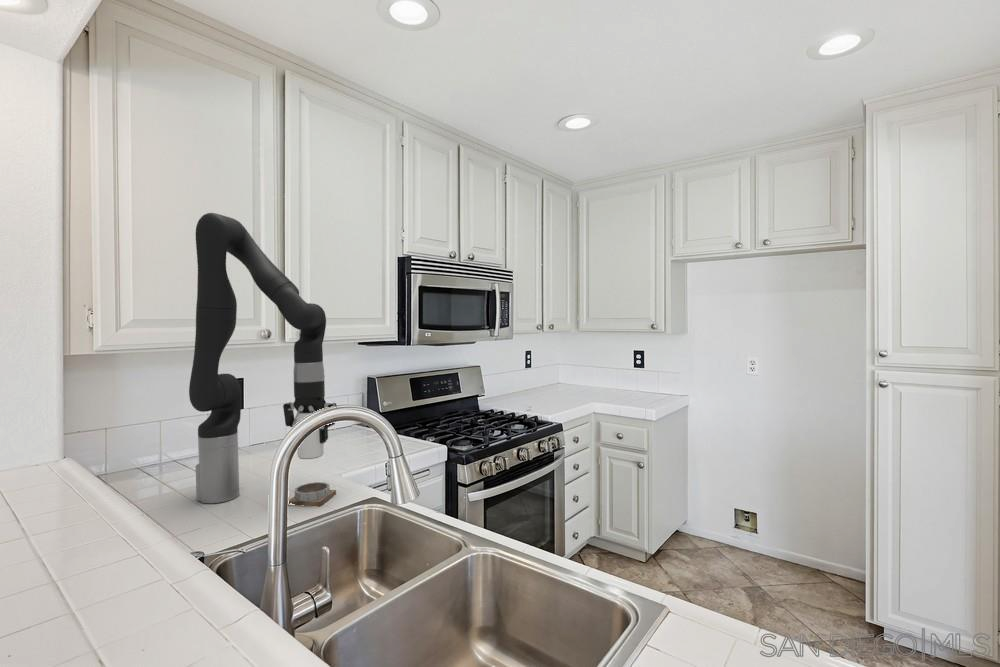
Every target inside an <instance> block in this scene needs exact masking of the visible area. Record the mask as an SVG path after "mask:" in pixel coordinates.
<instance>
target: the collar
mask: <svg viewBox="0 0 1000 667" xmlns="http://www.w3.org/2000/svg"><path fill="white" fill-rule="evenodd" d="M314 490H321V491H318V492H311V493H304V492H308V491H314ZM330 490H331V487H330V483H328V482H322V481H321V482H318V481H317V482H309V483H304V484H301V485H299V486H297V487H295V488H294V496H295V499H296V500H298V501H315V500H320V499H323V498H326V497H327V496H328V495H330Z"/></svg>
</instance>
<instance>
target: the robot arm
mask: <svg viewBox="0 0 1000 667" xmlns="http://www.w3.org/2000/svg"><path fill="white" fill-rule="evenodd" d="M195 247H196V249H195V250H196V258H197V259H196V261H197V262H196V263H197V284H196V285H197V291H196V292H197V295H196V305H195V306H196V307H195V308H196V309H195V337H194V338H195V341H194V351H193V352H194V353H193V360H192V361H193V362H192V369H191V371H190V372H191V374H190V378H189V386H188V387H189V388H188V396H189V401H190V404H191V406H192V407H193V409H195V410H196V411H197V412H202V413H203V412H204V413H205V412H210V411H211V412H210V414H209V416H208V417H207V418H206V420H204V421H202V423H200V424H199V425H198V428H197V443H198V444H197V445H198V463H196V465H195V488H196V489H195V490H196V491H195V492H196V494H195V495H196V497H195V498H196V501H197V502H198V501H199V502H201V503H202V504H218V503H224V502H228V501H231V500H234V499H236V498H237V497H239V496H240V472H239V471H240V470H239V469H240V466H239V438H238V434H239V432H238V427H239V424H240V421H241V413H242V412H241V411H242V407H241V406H242V389H241V385H240V382H239V380H238V378H237V377H236V376H235V375H232V374H231V373H219V365H220V359H221V356H222V354H223V352H224V349H225V348H226V346H227V344H228V343H229V341H230V340H231V338H232V336H233V334H234V332H235V330H236V326H237V311H238V310H237V309H238V308H237V307H238V303H237V302H238V301H237V298H236V294H235V292H234V289H233V287H232V283H231V282H230V278H229V277H228V272H227V253H228V254H229V255H231V256H233V257H234V258H236V259H237V260H238V261H239V262H241V264H243V265H244V266H245V268H246V269H247V271H248V272H249V274H250V276H251V277H252V279H253V282H254V283H255V285H256V286H257V287H258V289H259V290H260V291H261V292H262V293H263V294H264V295H265V296H266V297H267V298H268V299H269V300H270V301H272V303H273V304H274V305H275V306H276V307H277V309H278V310H279V312H280V314H281V315H282V317H283V318H284V319H285V321H286V322H287V323H288V324H289V325H290V326H292V327H293V328H294V329H296V330H299V331H300V332H299V333H300V334H299V338H298V340H297V341H295V342H294V345H293V361H294V363H293V364H294V365H293V396H294V402H291V401H290V402H286V403H283V405H282V408H283V415H284V423H285V426H286V427H290V428H292V427H293V426H294V425H295V424H296V423H297V416H298V414H299V413H298V412H300V413H312V412H315V411H317V410H319V409H322V408H324V409H326V407H331V406H336V407H337V403H336V402H331V403H330V402H326V399H325V395H326V393H325V392H326V390H325V389H326V387H325V385H326V384H325V375H326V374H325V368H324V362H323V361H324V359H323V358H324V356H323V355H324V354H323V352H324V351H323V342H324V339H325V333H326V329H327V327H326V326H327V318H326V317H327V315H326V313H325V310H324V309H323V308H322V307H321V306H320V305H319V304H317V303H310V302H309V303H308V302H306V301H305V300H304V299H303V298H302V297H301V296H300V290H299V288H298V287H297V286H296V285H295V284H294V282H292V281H291V280H290V278H289V277H287V276H286V275H285V273H283V272H282V271H281V270H280V269H279V268H278V267H277V266H276V265H275V264H274V263H273V261H271V260H270V259H269V257H268V256H267V255H266V254H265V253H264V252H263V250H262V249H261V248H260V246H259V245H258V244H257V243H256V241H255V240H254V238H253V237H252V235H251V234H250V232H249V231H248V230H247V229H246V227H244V225H243V224H242V223H241V222H240V221H239V220H237V219H235V218H233V217H230V216H226V215H223V214H219V213H217V212H216V213H215V212H207V213H205V214H203V215H202V216H200V218H199V219H198V221H197V223H196V226H195ZM294 410H296V412H297V413H296V414H294ZM334 425H336V422H335V423H332V424H329V425H325V426H323V427H321V429H320V430H319V433H320V443H324V444H325V443H326V442H327V440H328V439H329V428H330V427H332V426H334Z"/></svg>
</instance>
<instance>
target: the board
mask: <svg viewBox="0 0 1000 667" xmlns="http://www.w3.org/2000/svg"><path fill="white" fill-rule="evenodd" d="M318 491H321V490H314V491H308V492H304V493H311V492H318ZM334 495H335V496H336V495H337V489H330V495H328V496H327V497H326V498H323V499H320V500H315V501H298V500H296V499H295V495H294V496H293V497H291V498H290V499H288V500H289V504H290V503H292V504H295V505H304V506H303V507H313V506H318V508H320V507H322V506H323V505H324V504H325V502H326V503H327V502H329V500H331V499H332V498H333V497H335V496H334ZM330 498H331V499H330ZM321 505H322V506H321Z"/></svg>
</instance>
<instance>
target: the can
mask: <svg viewBox="0 0 1000 667" xmlns="http://www.w3.org/2000/svg"><path fill="white" fill-rule="evenodd" d="M298 413H299V414H298V416H297V422H299V421H300V420H301V419H303V418H304V417H306V416H307V415H309V414H311V413H300V412H298ZM312 413H313V412H312ZM320 429H321V428H319V429H318V430H316V431H315V432H313V433H312V434H311V435H309V436H308V437H307V438H306V439H305V440H304V442H303V443H302V444H301V445H300V447H299V448H298V450H297V457H298V458H299V459H300V460H314V459H319V458H321V457H323V456H324V453H325V448H324V446H325V445H324V444H325V443H320V433H319V430H320Z"/></svg>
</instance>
